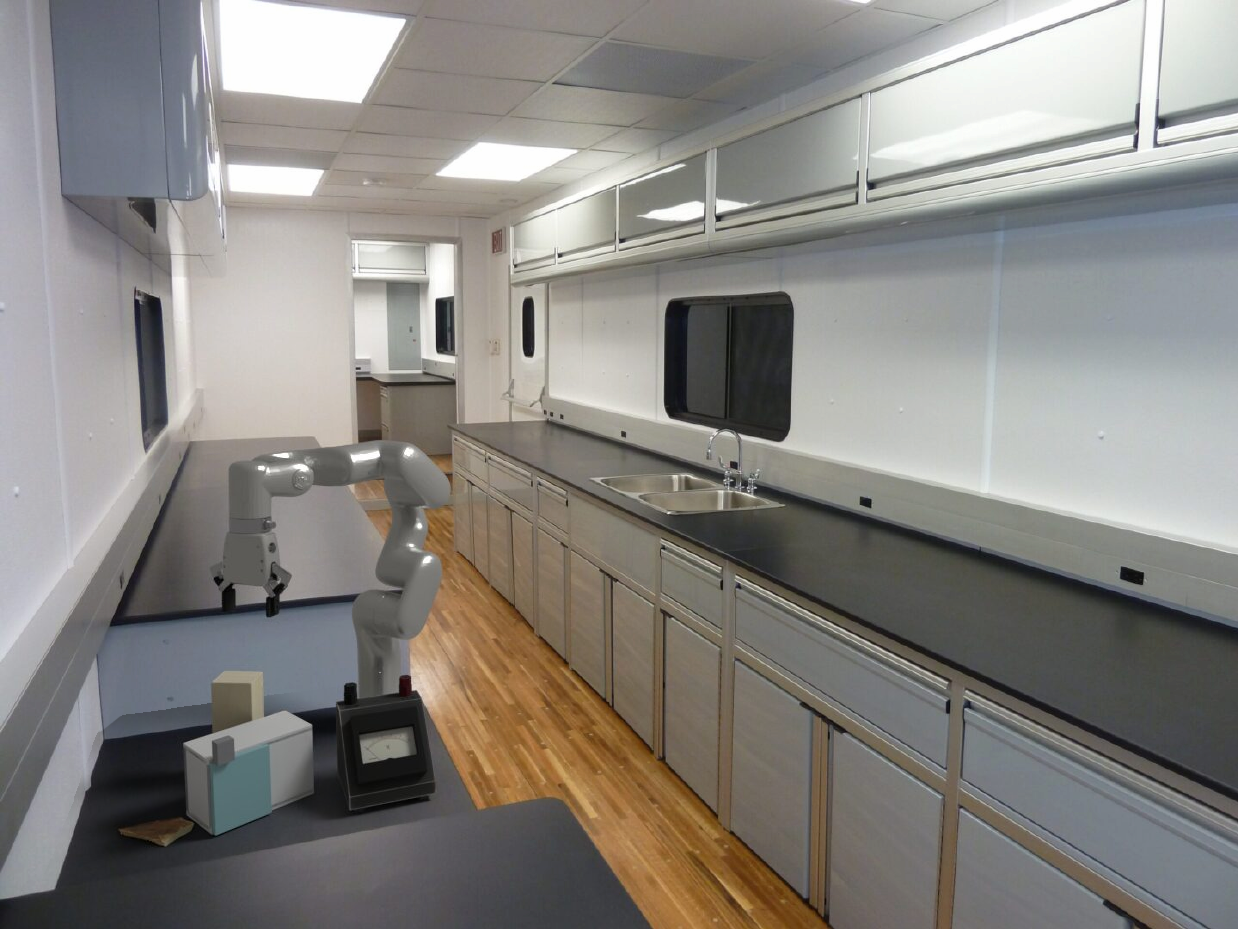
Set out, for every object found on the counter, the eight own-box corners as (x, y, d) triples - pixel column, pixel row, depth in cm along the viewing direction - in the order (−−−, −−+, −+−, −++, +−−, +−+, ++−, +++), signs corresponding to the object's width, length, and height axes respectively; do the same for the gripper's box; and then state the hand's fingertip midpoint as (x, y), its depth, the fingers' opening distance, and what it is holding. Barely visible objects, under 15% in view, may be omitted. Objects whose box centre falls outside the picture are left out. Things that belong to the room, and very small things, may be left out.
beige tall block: (267, 767, 183) (264, 669, 180) (254, 784, 176) (250, 683, 173) (228, 767, 183) (224, 669, 180) (213, 784, 175) (209, 682, 173)
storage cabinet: (287, 776, 179) (285, 710, 177) (314, 793, 173) (312, 725, 171) (186, 815, 164) (183, 743, 162) (212, 835, 158) (208, 760, 156)
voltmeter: (350, 818, 164) (348, 715, 162) (337, 778, 179) (335, 683, 176) (436, 801, 171) (435, 702, 168) (417, 764, 186) (416, 672, 183)
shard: (118, 836, 157) (117, 827, 157) (155, 816, 164) (154, 806, 164) (163, 850, 153) (162, 840, 153) (199, 828, 160) (198, 819, 160)
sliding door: (268, 810, 165) (265, 723, 163) (274, 814, 164) (271, 726, 162) (212, 833, 157) (208, 741, 155) (218, 837, 156) (214, 745, 154)
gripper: (301, 526, 171) (301, 612, 173) (224, 519, 175) (225, 603, 177) (277, 532, 164) (277, 623, 166) (197, 525, 168) (198, 613, 170)
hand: (250, 613), depth 171 cm, fingers open, 9 cm apart
